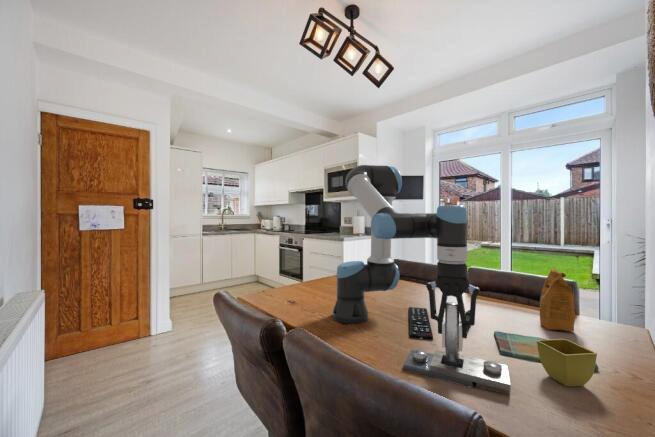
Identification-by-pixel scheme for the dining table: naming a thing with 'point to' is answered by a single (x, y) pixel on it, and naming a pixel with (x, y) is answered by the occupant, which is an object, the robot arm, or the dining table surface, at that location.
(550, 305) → the coffee package
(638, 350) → the dining table surface
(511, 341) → the dish towel
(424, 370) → the lower chain end
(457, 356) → the steel pin
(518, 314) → the dining table surface
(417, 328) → the remote control
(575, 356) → the flower pot
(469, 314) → the hand tool
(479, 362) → the grey block with knob
